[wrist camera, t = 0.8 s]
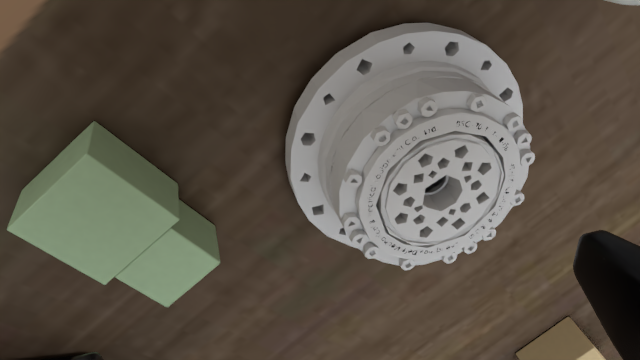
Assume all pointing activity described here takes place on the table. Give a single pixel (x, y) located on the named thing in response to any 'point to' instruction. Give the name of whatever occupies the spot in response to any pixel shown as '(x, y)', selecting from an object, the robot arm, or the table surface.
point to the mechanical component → (410, 145)
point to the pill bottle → (626, 2)
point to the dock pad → (561, 345)
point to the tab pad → (116, 219)
